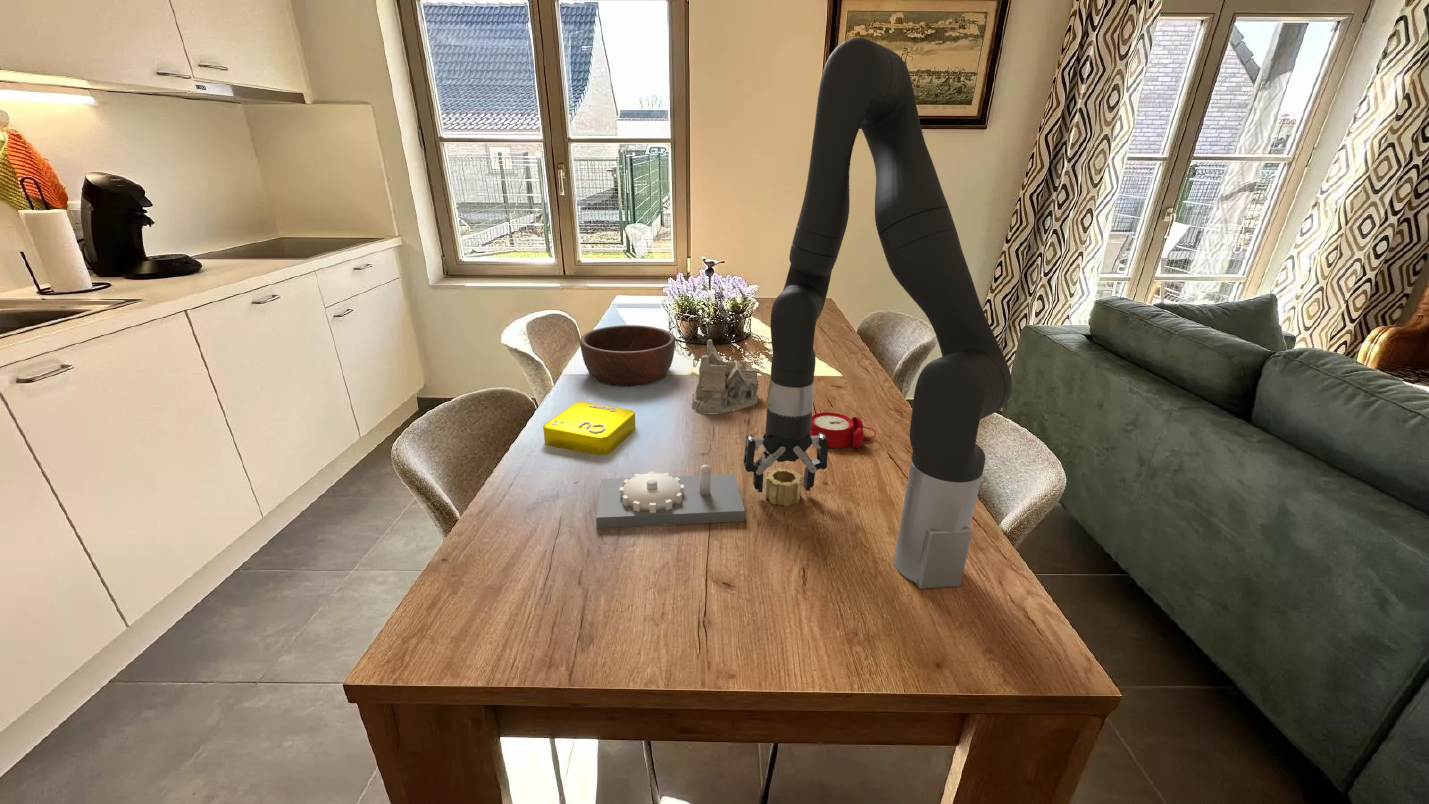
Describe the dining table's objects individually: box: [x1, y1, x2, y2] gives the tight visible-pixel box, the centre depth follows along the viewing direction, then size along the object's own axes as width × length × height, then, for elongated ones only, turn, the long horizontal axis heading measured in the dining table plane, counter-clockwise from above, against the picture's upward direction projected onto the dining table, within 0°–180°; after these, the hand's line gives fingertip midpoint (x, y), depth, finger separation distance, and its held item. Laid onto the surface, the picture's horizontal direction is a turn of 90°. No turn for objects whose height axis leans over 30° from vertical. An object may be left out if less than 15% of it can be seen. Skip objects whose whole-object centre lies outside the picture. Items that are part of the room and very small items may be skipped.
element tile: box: [542, 401, 636, 456], centre depth 125 cm, size 15×15×5 cm
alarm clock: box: [810, 411, 877, 449], centre depth 126 cm, size 10×6×15 cm
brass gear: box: [764, 467, 803, 507], centre depth 104 cm, size 6×6×4 cm
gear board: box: [595, 464, 746, 529], centre depth 100 cm, size 12×24×7 cm, turn 97°
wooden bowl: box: [579, 324, 676, 387], centre depth 158 cm, size 25×25×10 cm
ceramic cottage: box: [691, 339, 760, 414], centre depth 141 cm, size 16×16×15 cm
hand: (783, 489), depth 105 cm, fingers open, 8 cm apart
